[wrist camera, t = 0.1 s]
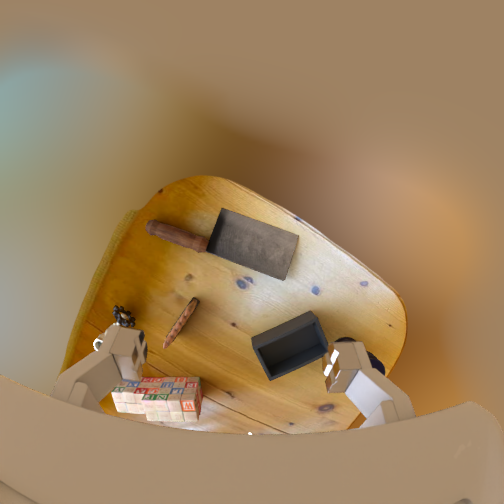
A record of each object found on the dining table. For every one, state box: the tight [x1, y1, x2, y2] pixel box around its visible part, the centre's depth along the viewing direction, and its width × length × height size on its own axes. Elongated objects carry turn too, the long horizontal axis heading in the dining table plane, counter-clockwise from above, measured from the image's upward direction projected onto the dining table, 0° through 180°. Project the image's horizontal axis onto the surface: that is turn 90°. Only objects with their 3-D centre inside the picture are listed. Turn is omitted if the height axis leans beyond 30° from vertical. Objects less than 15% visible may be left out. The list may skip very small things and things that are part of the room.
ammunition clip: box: [163, 297, 200, 349], centre depth 60 cm, size 11×2×12 cm, turn 145°
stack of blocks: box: [111, 377, 203, 422], centre depth 60 cm, size 21×6×12 cm, turn 95°
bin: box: [251, 311, 329, 381], centre depth 64 cm, size 10×16×7 cm, turn 114°
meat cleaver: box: [146, 208, 298, 281], centre depth 64 cm, size 34×11×4 cm, turn 71°
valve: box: [93, 306, 136, 351], centre depth 62 cm, size 7×7×12 cm
